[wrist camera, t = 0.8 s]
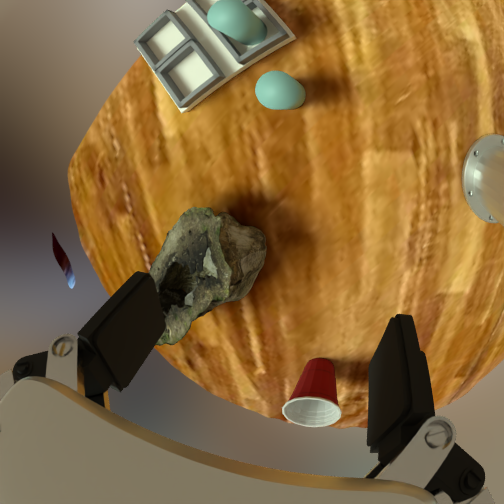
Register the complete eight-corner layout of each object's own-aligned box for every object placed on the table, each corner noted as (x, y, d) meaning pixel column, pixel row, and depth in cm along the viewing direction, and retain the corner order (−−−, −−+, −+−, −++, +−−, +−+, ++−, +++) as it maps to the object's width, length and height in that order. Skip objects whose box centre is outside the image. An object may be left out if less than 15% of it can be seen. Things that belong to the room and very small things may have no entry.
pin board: (236, -26, 20) (206, -54, 13) (296, 38, 25) (281, 14, 17) (143, 48, 29) (98, 44, 21) (187, 112, 33) (145, 118, 26)
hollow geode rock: (182, 287, 57) (195, 355, 50) (127, 281, 49) (135, 357, 42) (274, 211, 42) (307, 302, 35) (206, 184, 33) (233, 299, 26)
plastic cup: (353, 354, 47) (349, 407, 37) (337, 383, 52) (331, 430, 42) (299, 344, 49) (286, 396, 39) (290, 374, 55) (277, 420, 45)
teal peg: (294, 73, 27) (281, 63, 21) (311, 100, 28) (305, 96, 22) (267, 89, 29) (247, 84, 23) (284, 115, 30) (269, 116, 24)
